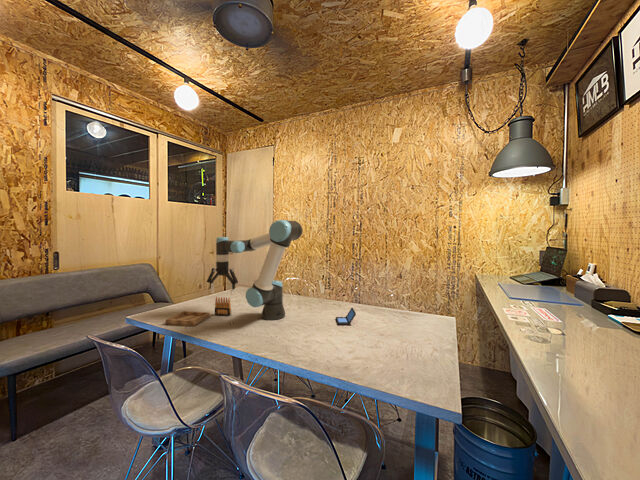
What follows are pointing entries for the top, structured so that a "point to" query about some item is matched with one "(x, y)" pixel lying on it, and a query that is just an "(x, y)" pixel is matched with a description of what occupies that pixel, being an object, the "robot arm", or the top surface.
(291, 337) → the top surface
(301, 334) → the top surface
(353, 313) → the handheld game console
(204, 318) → the tray
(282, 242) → the robot arm
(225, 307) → the ammunition clip
